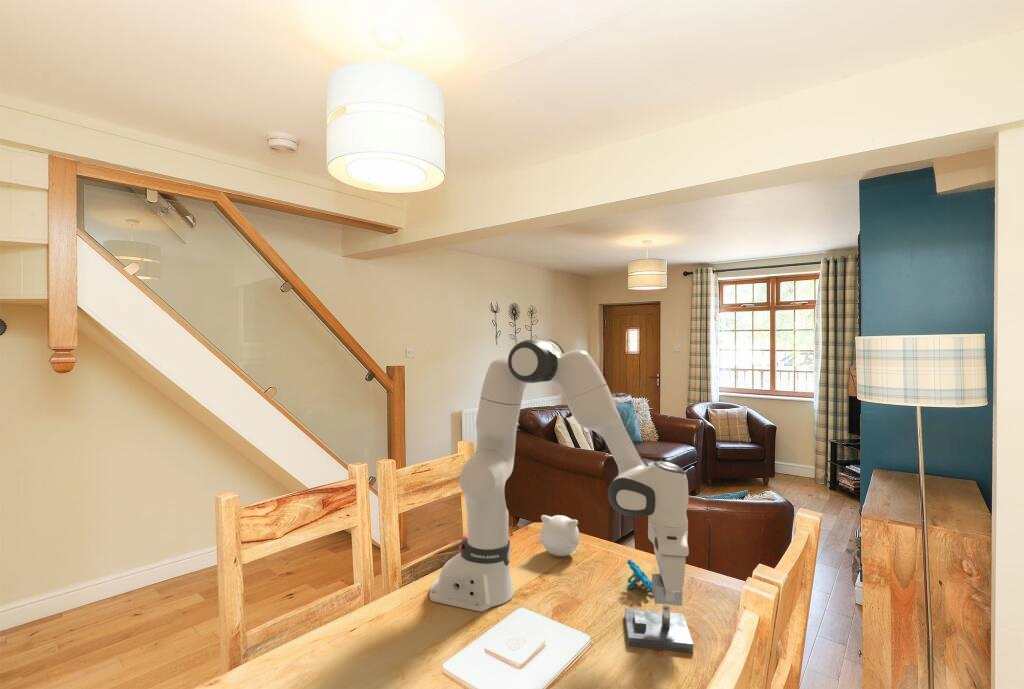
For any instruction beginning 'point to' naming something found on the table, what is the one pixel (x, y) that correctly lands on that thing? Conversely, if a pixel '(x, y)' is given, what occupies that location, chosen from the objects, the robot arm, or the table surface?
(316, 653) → the table surface
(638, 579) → the gear
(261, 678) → the table surface
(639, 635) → the shaft stand
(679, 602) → the collar
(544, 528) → the cat head
